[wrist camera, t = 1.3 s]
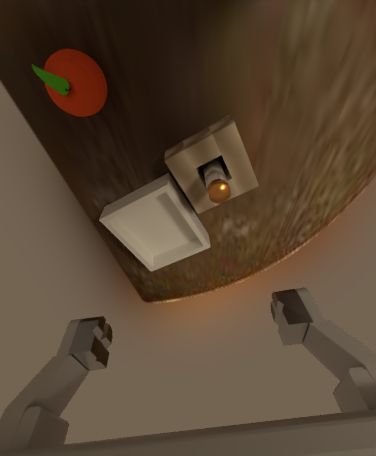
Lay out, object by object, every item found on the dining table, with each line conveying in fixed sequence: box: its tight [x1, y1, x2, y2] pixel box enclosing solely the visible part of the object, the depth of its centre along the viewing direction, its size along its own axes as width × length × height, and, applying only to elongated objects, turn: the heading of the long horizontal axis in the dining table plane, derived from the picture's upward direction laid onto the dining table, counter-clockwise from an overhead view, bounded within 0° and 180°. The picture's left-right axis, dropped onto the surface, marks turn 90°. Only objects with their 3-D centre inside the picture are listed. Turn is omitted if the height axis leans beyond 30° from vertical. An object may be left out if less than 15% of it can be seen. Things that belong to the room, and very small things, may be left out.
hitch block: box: [164, 115, 259, 214], centre depth 37 cm, size 11×11×4 cm
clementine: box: [32, 49, 108, 117], centre depth 27 cm, size 8×7×7 cm
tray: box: [99, 173, 210, 271], centre depth 44 cm, size 14×16×4 cm
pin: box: [202, 157, 231, 204], centre depth 34 cm, size 3×3×10 cm
